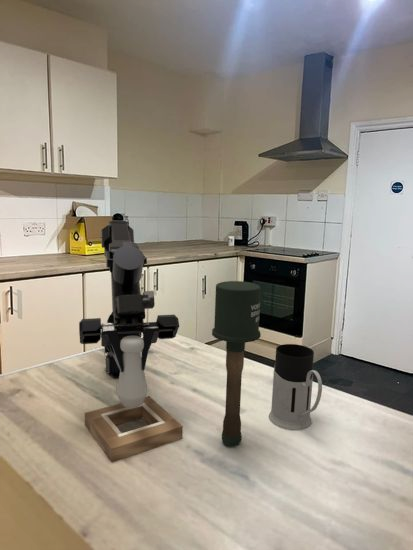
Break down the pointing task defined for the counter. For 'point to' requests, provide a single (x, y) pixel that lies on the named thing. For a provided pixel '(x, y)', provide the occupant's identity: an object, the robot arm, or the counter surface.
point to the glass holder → (293, 387)
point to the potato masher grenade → (235, 344)
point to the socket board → (136, 440)
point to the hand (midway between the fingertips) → (132, 370)
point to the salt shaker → (132, 373)
